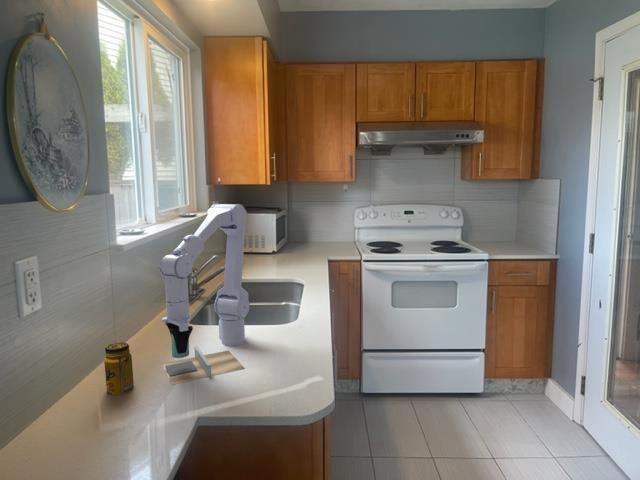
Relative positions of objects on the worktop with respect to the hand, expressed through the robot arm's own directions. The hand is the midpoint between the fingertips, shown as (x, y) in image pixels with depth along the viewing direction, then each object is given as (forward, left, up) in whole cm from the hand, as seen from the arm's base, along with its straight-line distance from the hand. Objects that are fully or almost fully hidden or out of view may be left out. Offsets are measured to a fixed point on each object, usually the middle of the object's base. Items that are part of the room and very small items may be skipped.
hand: (180, 349), depth 118 cm
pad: (0, 0, -5) cm, 5 cm away
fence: (+1, +6, -5) cm, 8 cm away
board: (+1, +6, -6) cm, 8 cm away
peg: (0, 0, -1) cm, 1 cm away
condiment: (+4, -14, -7) cm, 16 cm away
